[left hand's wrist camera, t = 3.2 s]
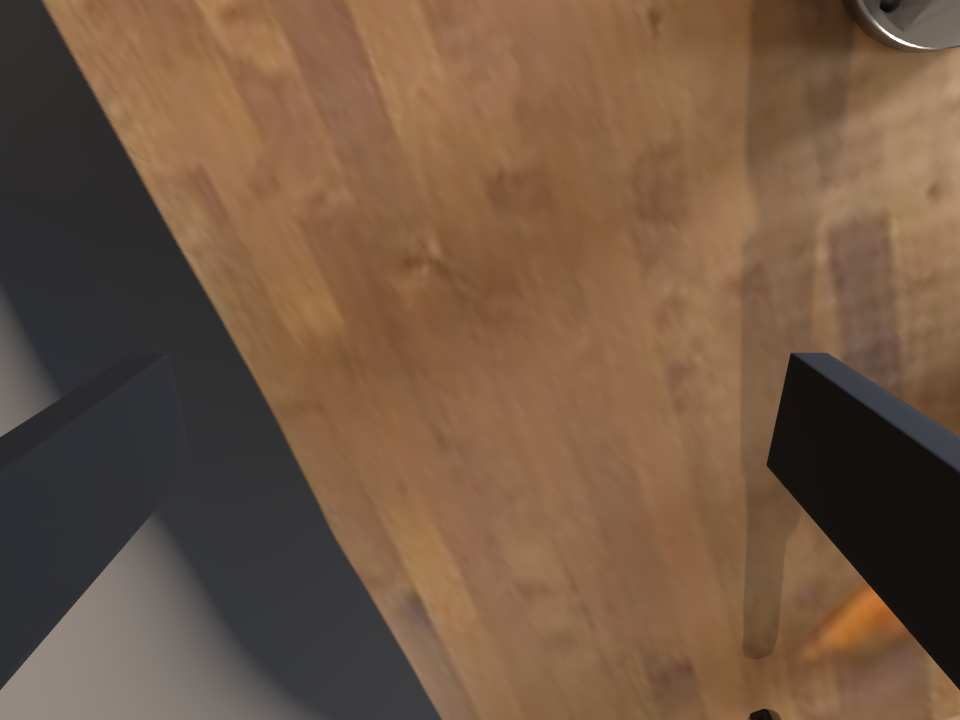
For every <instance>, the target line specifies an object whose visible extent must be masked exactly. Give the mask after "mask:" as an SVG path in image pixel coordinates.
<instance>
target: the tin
mask: <svg viewBox="0 0 960 720" xmlns="http://www.w3.org/2000/svg"><path fill="white" fill-rule="evenodd" d="M767 710H768V709H767ZM768 711H769V712H770V714H771V716H772V718H773V720H781V718H780V716H779V714H778V713H777V712H775V711H773V710H768ZM748 720H751V719H750V717H749V718H748Z"/></svg>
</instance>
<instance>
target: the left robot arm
mask: <svg viewBox="0 0 960 720" xmlns="http://www.w3.org/2000/svg"><path fill="white" fill-rule="evenodd" d="M844 1H845V4H846V6H847V8H848V10H849V12H850V13H851V15H852V16H853V18H854V20H855V21H856V22H857V23H858V25H859V26H860V27H861V28H862V29H863V30H864V31H865V32H866V33H867V34H868V35H869V36H871V37H872V38H874V39H875V40H876V41H878V42H880V43H882V44H884V45H886V46H889V47H891V48H894V49H898V50H902V51H908V52H930V51H938V50H943V49H949V48H954V47H959V46H960V0H844ZM192 466H193V461H192V456H191V451H190V447H189V442H188V437H187V433H186V428H185V424H184V419H183V415H182V410H181V405H180V401H179V396H178V391H177V387H176V382H175V378H174V373H173V368H172V364H171V359H170V355H169V353H132V354H131V355H129V356H127V357H126V358H124V359H123V360H121V361H120V362H118V363H116V364H115V365H113V366H112V367H110V368H109V369H107V370H105V371H104V372H102V373H101V374H99V375H98V376H96V377H94V378H93V379H91V380H90V381H88V382H87V383H85V384H83V385H82V386H80V387H79V388H77V389H76V390H74V391H72V392H71V393H69V394H68V395H66V396H65V397H63V398H61V399H60V400H58V401H57V402H55V403H54V404H52V405H50V406H49V407H47V408H46V409H44V410H43V411H41V412H39V413H38V414H36V415H35V416H33V417H32V418H30V419H28V420H27V421H25V422H24V423H22V424H21V425H19V426H17V427H16V428H14V429H13V430H11V431H10V432H8V433H6V434H5V435H3V436H2V437H0V690H1V689H2V687H3V686H4V685H5V684H6V683H7V682H8V681H9V679H10V678H11V677H12V676H13V675H14V674H15V672H16V671H17V670H18V669H19V668H20V667H21V665H22V664H23V663H24V662H25V661H26V660H27V658H28V657H29V656H30V655H31V654H32V653H33V651H34V650H35V649H36V648H37V647H38V646H39V644H40V643H41V642H42V641H43V640H44V639H45V637H46V636H47V635H48V634H49V633H50V632H51V630H52V629H53V628H54V627H55V626H56V625H57V624H58V622H59V621H60V620H61V619H62V618H63V616H64V615H65V614H66V613H67V612H68V611H69V610H70V608H71V607H72V606H73V605H74V604H75V603H76V601H77V600H78V599H79V598H80V597H81V596H82V594H83V593H84V592H85V591H86V590H87V589H88V587H89V586H90V585H91V584H92V583H93V582H94V580H95V579H96V578H97V577H98V576H99V575H100V574H101V572H102V571H103V570H104V569H105V568H106V566H107V565H108V564H109V563H110V562H111V561H112V560H113V558H114V557H115V556H116V555H117V554H118V553H119V551H120V550H121V549H122V548H123V547H124V546H125V544H126V543H127V542H128V541H129V540H130V539H131V537H132V536H133V535H134V534H135V533H136V532H137V530H138V529H139V528H140V527H141V526H142V525H143V523H144V522H145V521H146V520H147V519H148V518H149V516H150V515H151V514H152V513H153V512H154V511H155V510H156V508H157V507H158V506H159V505H160V504H161V503H162V501H163V500H164V499H165V498H166V497H167V496H168V494H169V493H170V492H171V491H172V490H173V489H174V487H175V486H176V485H177V484H178V483H179V482H180V480H181V479H182V478H183V477H184V476H185V475H186V473H187V472H188V471H189V470H190V469H191V468H192ZM767 467H768V468H769V469H770V470H771V471H772V472H773V473H774V475H775V476H776V477H777V478H778V479H779V480H780V482H781V483H782V484H783V485H784V486H785V487H786V489H787V490H788V491H789V492H790V493H791V494H792V496H793V497H794V498H795V499H796V500H797V501H798V503H799V504H800V505H801V506H802V507H803V508H804V510H805V511H806V512H807V513H808V514H809V515H810V517H811V518H812V519H813V520H814V521H815V522H816V523H817V525H818V526H819V527H820V528H821V529H822V530H823V532H824V533H825V534H826V535H827V536H828V537H829V539H830V540H831V541H832V542H833V543H834V544H835V546H836V547H837V548H838V549H839V550H840V551H841V553H842V554H843V555H844V556H845V557H846V558H847V560H848V561H849V562H850V563H851V564H852V565H853V567H854V568H855V569H856V570H857V571H858V572H859V574H860V575H861V576H862V577H863V578H864V579H865V580H866V582H867V583H868V584H869V585H870V586H871V587H872V589H873V590H874V591H875V592H876V593H877V594H878V596H879V597H880V598H881V599H882V600H883V601H884V603H885V604H886V605H887V606H888V607H889V608H890V610H891V611H892V612H893V613H894V614H895V615H896V617H897V618H898V619H899V620H900V621H901V622H902V624H903V625H904V626H905V627H906V628H907V629H908V631H909V632H910V633H911V634H912V635H913V636H914V637H915V639H916V640H917V641H918V642H919V643H920V644H921V646H922V647H923V648H924V649H925V650H926V651H927V653H928V654H929V655H930V656H931V657H932V658H933V660H934V661H935V662H936V663H937V664H938V665H939V667H940V668H941V669H942V670H943V671H944V672H945V674H946V675H947V676H948V677H949V678H950V679H951V681H952V682H953V683H954V684H955V685H956V686H957V687H958V689H959V690H960V437H958V436H957V435H955V434H954V433H952V432H950V431H949V430H947V429H946V428H944V427H943V426H941V425H939V424H938V423H936V422H935V421H933V420H932V419H930V418H928V417H927V416H925V415H924V414H922V413H921V412H919V411H917V410H916V409H914V408H913V407H911V406H910V405H908V404H906V403H905V402H903V401H902V400H900V399H899V398H897V397H895V396H894V395H892V394H891V393H889V392H888V391H886V390H884V389H883V388H881V387H880V386H878V385H877V384H875V383H873V382H872V381H870V380H869V379H867V378H866V377H864V376H862V375H861V374H859V373H858V372H856V371H855V370H853V369H851V368H850V367H848V366H847V365H845V364H844V363H842V362H840V361H839V360H837V359H836V358H834V357H833V356H831V355H829V354H828V353H791V355H790V359H789V364H788V368H787V373H786V378H785V382H784V387H783V391H782V396H781V401H780V405H779V410H778V414H777V419H776V424H775V428H774V433H773V437H772V442H771V447H770V451H769V456H768V460H767Z"/></svg>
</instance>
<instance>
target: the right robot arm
mask: <svg viewBox="0 0 960 720" xmlns="http://www.w3.org/2000/svg"><path fill="white" fill-rule="evenodd" d="M750 719H751V720H773V718H772V716H771V714H770V712H769V711H768V710H767V709H762V710H759V711H756V712H753V713H751V714H750Z"/></svg>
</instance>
